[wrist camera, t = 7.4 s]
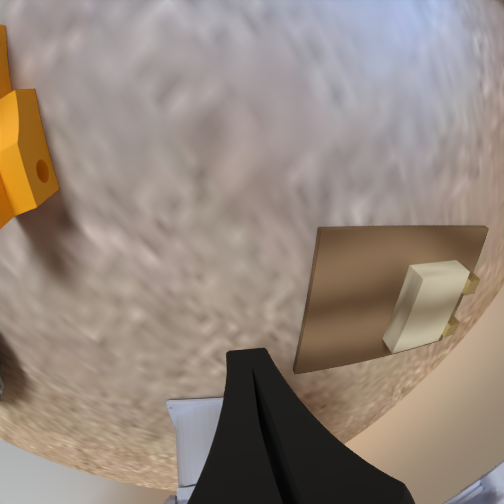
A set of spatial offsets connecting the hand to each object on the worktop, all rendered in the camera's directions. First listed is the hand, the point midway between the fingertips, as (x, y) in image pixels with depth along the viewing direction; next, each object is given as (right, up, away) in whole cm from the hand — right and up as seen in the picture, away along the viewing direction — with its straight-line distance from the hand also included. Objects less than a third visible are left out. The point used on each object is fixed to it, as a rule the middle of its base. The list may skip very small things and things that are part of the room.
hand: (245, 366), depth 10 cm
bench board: (+13, 0, +13) cm, 19 cm away
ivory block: (+15, 0, +13) cm, 20 cm away
